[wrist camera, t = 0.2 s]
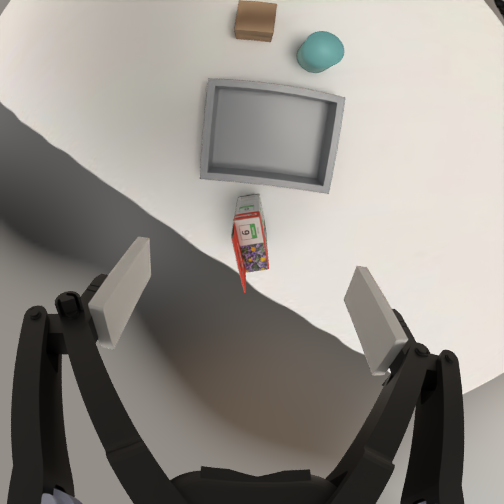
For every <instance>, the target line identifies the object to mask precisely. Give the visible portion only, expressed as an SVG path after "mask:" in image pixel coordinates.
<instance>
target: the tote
mask: <svg viewBox="0 0 504 504" xmlns="http://www.w3.org/2000/svg"><path fill="white" fill-rule="evenodd" d="M344 104H345V97H341V96H337V95H333V94H328V93H324V92H319V91H314V90H309V89H304V88H298V87H292V86H286V85H279V84H272V83H263V82H254V81H244V80H231V79H211V78H208V86H207V95H206V105H205V115H204V126H203V138H202V151H201V166H200V179H206V180H218V181H229V182H240V183H250V184H259V185H268V186H276V187H284V188H291V189H299V190H306V191H313V192H319V193H326V194H329V190H330V185H331V180H332V175H333V170H334V165H335V159H336V154H337V148H338V142H339V136H340V130H341V124H342V118H343V111H344Z"/></svg>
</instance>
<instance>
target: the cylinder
mask: <svg viewBox="0 0 504 504" xmlns="http://www.w3.org/2000/svg"><path fill="white" fill-rule="evenodd" d="M343 56H344V47H343V44H342V42H341V41H340V40H339V38H338V37H336V36H335V35H333V34H331V33H329V32H325V31H319V32H315V33H313V34H311V35H310V36H309V37H308V38H307V40H306V41H305V42H304V43H303V45H302V46H301V47H300V49H299V50H298V53H297V60H298V62H299V64H300V66H301V67H302V68H303V69H305V70H307V71H309V72H312V73H319V72H322V71H324V70H326V69H328V68H329V67H331V66H333V65H335V64H337V63H338V62H340V61H341V59H342V58H343Z"/></svg>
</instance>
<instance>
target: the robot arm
mask: <svg viewBox="0 0 504 504" xmlns="http://www.w3.org/2000/svg"><path fill="white" fill-rule="evenodd" d="M149 240H150V239H149V238H144V237H138V238H137V239H136V240H135V241H134V243H133V244H132V245H131V246H130V248H129V249H128V250H127V252H126V253H125V254H124V255H123V257H122V258H121V259H120V261H119V262H118V263H117V265H116V266H115V267H114V269H113V270H112V271H111V273H110V274H109V275H105V274H101V275H99V276H98V277H96V278H95V279H94V280H93V281H92V282H91V284H90V285H89V286H88V288H87V290H85V292H84V293H83V294H82V296H81V297H80V295H79V294H78V293H76V292H73V291H68V292H64V293H62V294H60V295H59V296H58V297H57V298H56V300H55V306H56V309H57V312H58V314H47V311H46V309H45V308H44V307H42V306H33V307H31V308H30V309H28V310H27V311H26V313H25V315H24V319H23V324H22V329H21V333H20V338H19V344H18V349H17V356H16V363H15V370H14V379H13V391H12V408H11V441H12V458H13V470H12V475H11V480H10V486H9V493H8V500H7V504H82V503H81V502H80V501H79V500H78V499H76V498H75V495H74V485H73V479H72V473H71V468H70V464H69V457H68V451H67V444H66V437H65V428H64V418H63V404H62V379H61V378H62V372H61V371H62V365H61V364H62V354H68V355H69V358H70V362H71V365H72V368H73V371H74V375H75V377H76V381H77V384H78V387H79V390H80V392H81V395H82V398H83V401H84V403H85V406H86V408H87V411H88V413H89V416H90V418H91V420H92V423H93V425H94V427H95V430H96V432H97V434H98V436H99V438H100V440H101V443H102V445H103V447H104V449H105V451H106V456H107V459H108V461H109V463H110V465H111V467H112V469H113V470H114V472H115V474H116V476H117V477H118V479H119V481H120V483H121V484H122V486H123V488H124V489H125V491H126V492H127V494H128V495H129V497H130V499H131V500H132V501H133V503H134V504H376V502H377V500H378V499H379V497H380V495H381V493H382V492H383V490H384V488H385V486H386V484H387V482H388V481H389V479H390V477H391V475H392V473H393V470H394V467H395V465H394V464H392V461H393V459H394V457H395V454H396V452H397V450H398V448H399V446H400V443H401V441H402V439H403V436H404V434H405V432H406V429H407V427H408V424H409V421H410V419H411V417H412V414H413V411H414V408H415V406H416V410H415V420H414V430H413V438H412V445H411V451H410V458H409V464H408V469H407V474H406V478H405V483H404V488H403V491H402V497H401V502H400V504H464V498H463V491H462V475H463V461H464V411H463V397H462V385H461V377H460V369H459V362H458V358H457V357H456V355H455V354H454V353H453V352H452V351H449V350H443V351H442V352H441V353H440V355H439V356H438V355H434V354H430V352H429V350H428V348H427V347H426V346H424V345H423V344H421V343H416V341H415V339H414V337H413V335H412V333H411V332H410V330H409V328H408V327H407V325H406V323H405V322H404V319H403V317H402V316H401V314H400V313H399V312H398V311H396V310H395V309H391V307H390V305H389V303H388V302H387V300H386V298H385V296H384V295H383V293H382V291H381V290H380V288H379V286H378V285H377V283H376V281H375V280H374V278H373V276H372V275H371V273H370V272H369V270H368V268H367V267H361V266H357V267H356V269H355V272H354V275H353V277H352V280H351V283H350V285H349V288H348V290H347V293H346V295H345V297H344V302H345V304H346V307H347V309H348V312H349V314H350V317H351V319H352V322H353V324H354V327H355V330H356V332H357V335H358V337H359V340H360V343H361V345H362V348H363V351H364V353H365V356H366V359H367V362H368V364H369V367H370V370H371V373H372V375H384V374H385V373H386V371H387V370H388V368H390V371H391V374H390V375H389V377H388V378H387V379H386V381H385V382H384V383H383V384H382V385H383V386H384V387H383V389H382V391H381V393H380V395H379V397H378V399H377V401H376V403H375V405H374V407H373V409H372V410H371V412H370V414H369V416H368V417H367V419H366V421H365V423H364V425H363V426H362V428H361V430H360V431H359V433H358V434H357V436H356V438H355V440H354V441H353V443H352V444H351V446H350V447H349V449H348V450H347V452H346V453H345V455H344V456H343V458H342V459H341V461H340V462H339V464H338V465H337V467H336V468H335V469H334V470H333V471H332V472H331V473H330V474H329V475H328V476H327V477H326V479H324V478H321V477H319V476H315V475H311V474H310V470H290V471H281V472H277V473H273V474H269V475H264V476H259V477H256V476H252V475H248V474H244V473H240V472H237V471H233V470H230V469H220V468H211V467H204V466H202V467H201V471H193V472H188V473H185V474H182V475H179V476H177V477H175V478H173V479H172V480H169V479H168V477H167V476H166V474H165V473H164V472H163V470H162V469H161V467H160V466H159V464H158V463H157V462H156V460H155V458H154V457H153V455H152V454H151V452H150V451H149V449H148V448H147V446H146V445H145V443H144V441H143V440H142V439H141V437H140V435H139V434H138V432H137V430H136V429H135V427H134V425H133V423H132V421H131V419H130V418H129V416H128V414H127V412H126V410H125V408H124V406H123V404H122V402H121V400H120V398H119V396H118V394H117V392H116V390H115V388H114V386H113V384H112V382H111V379H110V378H109V375H108V373H107V370H106V368H105V366H104V363H103V361H102V359H101V356H100V354H99V351H98V349H97V346H96V341H97V340H99V343H100V346H101V347H106V348H109V349H113V350H114V348H115V346H116V344H117V342H118V340H119V338H120V336H121V334H122V332H123V329H124V327H125V325H126V323H127V321H128V319H129V317H130V315H131V313H132V311H133V309H134V307H135V305H136V303H137V301H138V299H139V297H140V295H141V293H142V292H143V290H144V288H145V286H146V284H147V282H148V280H149V278H150V277H151V267H150V241H149Z"/></svg>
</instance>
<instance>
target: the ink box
mask: <svg viewBox="0 0 504 504" xmlns="http://www.w3.org/2000/svg"><path fill="white" fill-rule="evenodd" d="M231 238H232V243H233V247H234V251H235V256H236V261H237V265H238V270H239V274H240V278H241V282H242V286H243V290H244V293H245V292H246V275H245V272H253V271H260V270H267V269H269V262H268V251H267V238H266V228H265V221H264V216H263V210H262V205H261V200H260V195H259V194H258V195H251V196H244V197H239V198H238V202H237V206H236V211H235V216H234V222H233V228H232V234H231Z"/></svg>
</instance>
